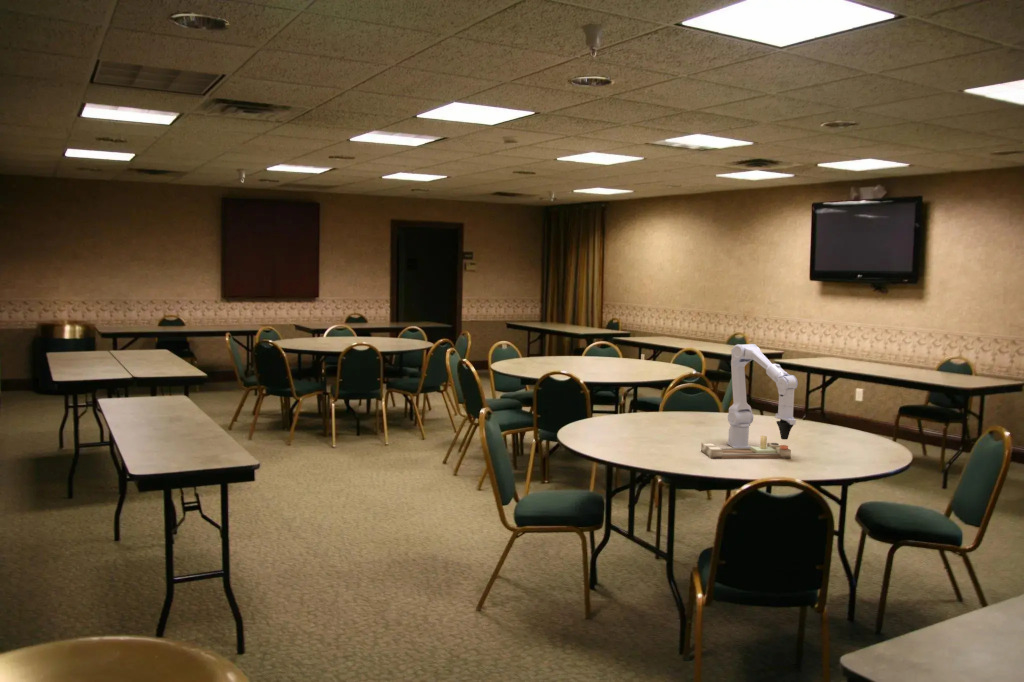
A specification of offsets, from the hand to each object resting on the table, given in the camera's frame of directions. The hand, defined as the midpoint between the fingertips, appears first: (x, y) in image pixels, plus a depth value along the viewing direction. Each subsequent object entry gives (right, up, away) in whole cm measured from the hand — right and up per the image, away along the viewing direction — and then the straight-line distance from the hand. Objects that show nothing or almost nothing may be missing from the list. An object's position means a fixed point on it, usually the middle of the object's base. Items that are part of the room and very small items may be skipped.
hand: (784, 439), depth 318 cm
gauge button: (0, -4, 0) cm, 4 cm away
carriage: (-7, -6, +5) cm, 10 cm away
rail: (-14, -7, +4) cm, 17 cm away
